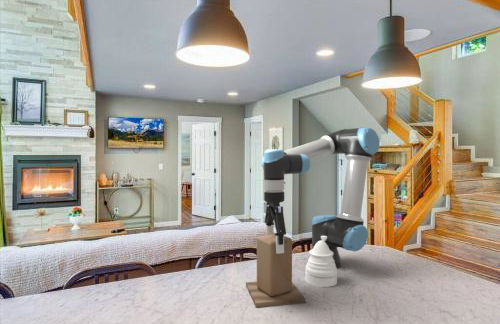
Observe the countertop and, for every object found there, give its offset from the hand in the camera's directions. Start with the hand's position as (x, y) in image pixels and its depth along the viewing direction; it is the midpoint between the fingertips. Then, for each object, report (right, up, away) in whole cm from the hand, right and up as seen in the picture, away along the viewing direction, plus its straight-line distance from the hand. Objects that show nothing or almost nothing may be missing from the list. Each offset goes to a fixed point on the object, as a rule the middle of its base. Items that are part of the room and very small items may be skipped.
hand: (274, 247), depth 120 cm
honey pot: (+20, -17, +13) cm, 30 cm away
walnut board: (0, -17, 0) cm, 17 cm away
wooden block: (0, -16, 0) cm, 16 cm away
